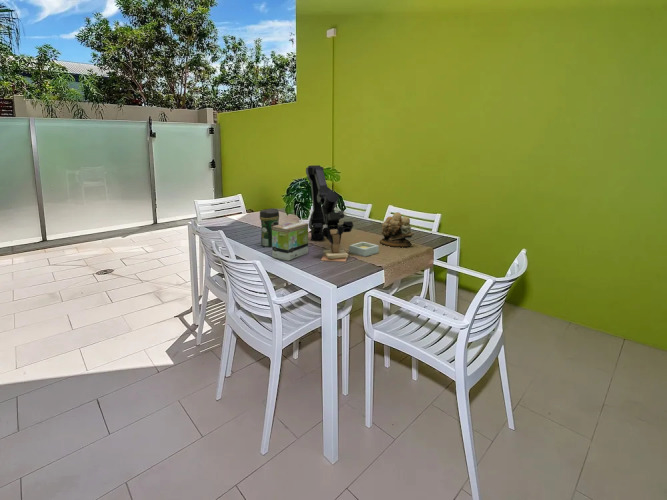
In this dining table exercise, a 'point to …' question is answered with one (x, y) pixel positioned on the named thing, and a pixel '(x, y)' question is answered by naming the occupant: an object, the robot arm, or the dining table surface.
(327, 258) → the tile
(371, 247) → the pale green square dish
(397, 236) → the brown lumpy sculpture
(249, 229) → the dining table surface
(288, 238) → the tea box
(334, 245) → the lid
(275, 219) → the coffee jar
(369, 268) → the dining table surface
